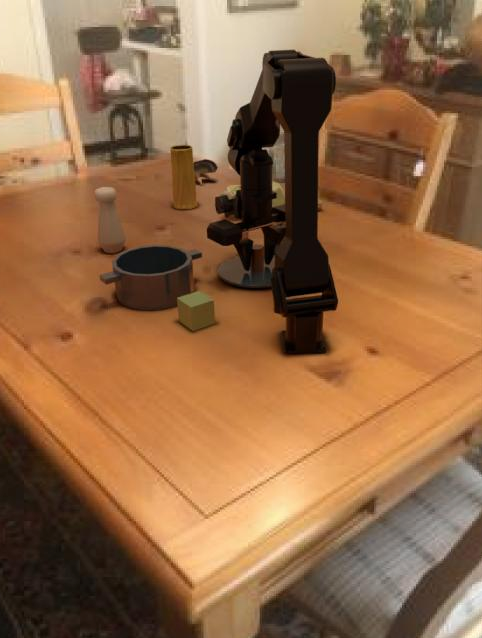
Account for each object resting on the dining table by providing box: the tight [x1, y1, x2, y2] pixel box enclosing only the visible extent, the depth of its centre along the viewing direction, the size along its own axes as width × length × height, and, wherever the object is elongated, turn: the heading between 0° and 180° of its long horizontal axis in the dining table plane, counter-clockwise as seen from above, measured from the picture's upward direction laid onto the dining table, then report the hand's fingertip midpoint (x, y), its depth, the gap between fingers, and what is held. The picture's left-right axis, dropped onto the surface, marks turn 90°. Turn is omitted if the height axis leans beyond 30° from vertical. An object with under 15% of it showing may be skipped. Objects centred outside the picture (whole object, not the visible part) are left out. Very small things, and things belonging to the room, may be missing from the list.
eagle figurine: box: [193, 158, 219, 186], centre depth 171 cm, size 8×7×9 cm
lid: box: [217, 243, 275, 289], centre depth 118 cm, size 15×15×6 cm
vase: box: [169, 144, 199, 211], centre depth 152 cm, size 6×6×14 cm
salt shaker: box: [94, 186, 126, 254], centre depth 128 cm, size 6×6×13 cm
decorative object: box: [219, 180, 323, 211], centre depth 147 cm, size 9×10×25 cm
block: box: [177, 290, 216, 332], centre depth 103 cm, size 4×4×4 cm
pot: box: [99, 244, 203, 311], centre depth 112 cm, size 14×19×6 cm
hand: (257, 267), depth 119 cm, fingers open, 4 cm apart
